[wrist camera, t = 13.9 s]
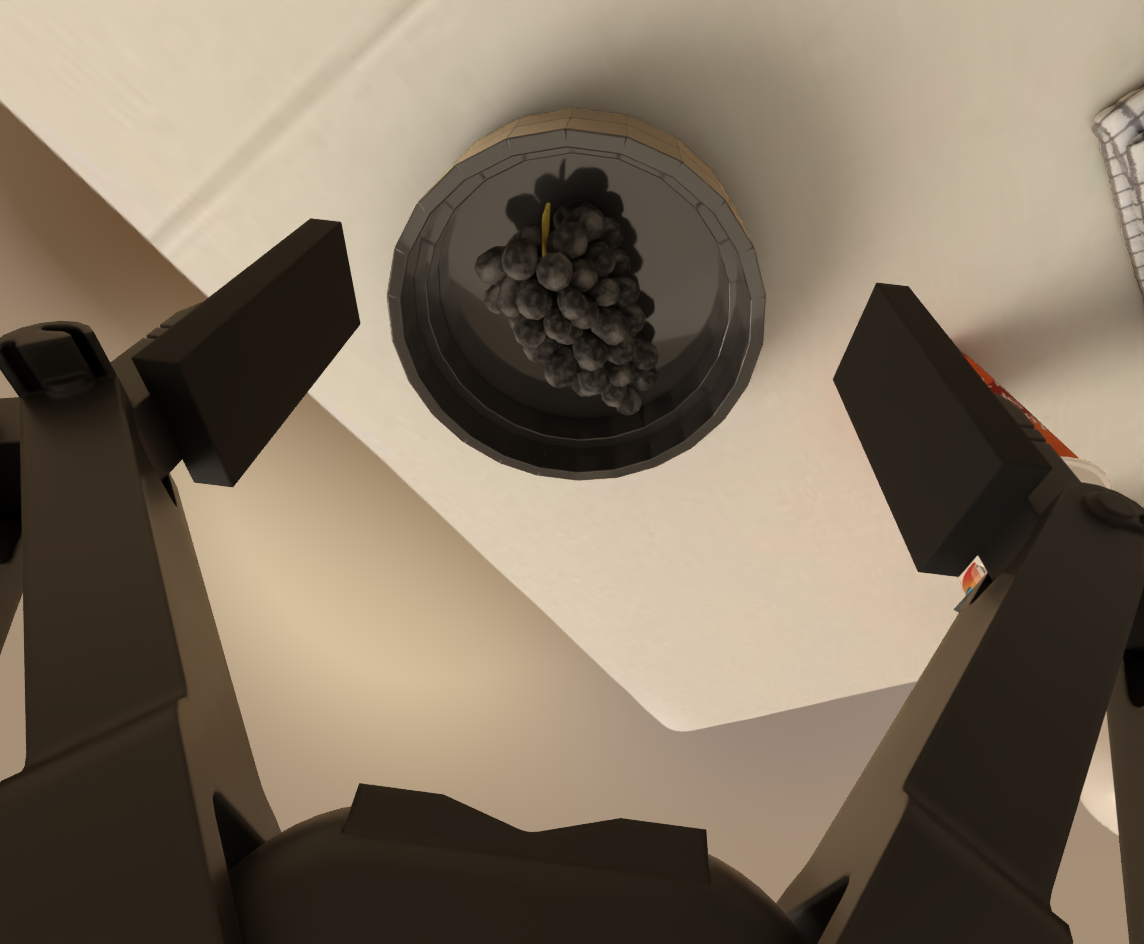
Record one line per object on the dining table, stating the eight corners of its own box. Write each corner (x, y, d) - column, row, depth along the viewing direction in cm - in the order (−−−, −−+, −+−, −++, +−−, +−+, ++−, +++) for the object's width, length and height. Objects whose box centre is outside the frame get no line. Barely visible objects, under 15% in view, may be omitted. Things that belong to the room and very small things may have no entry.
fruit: (668, 465, 34) (556, 229, 25) (555, 471, 39) (426, 274, 30) (700, 374, 39) (615, 152, 30) (596, 389, 44) (497, 200, 35)
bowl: (799, 134, 31) (828, 162, 26) (700, 445, 45) (708, 497, 41) (402, 82, 31) (362, 101, 26) (428, 410, 45) (405, 459, 41)
